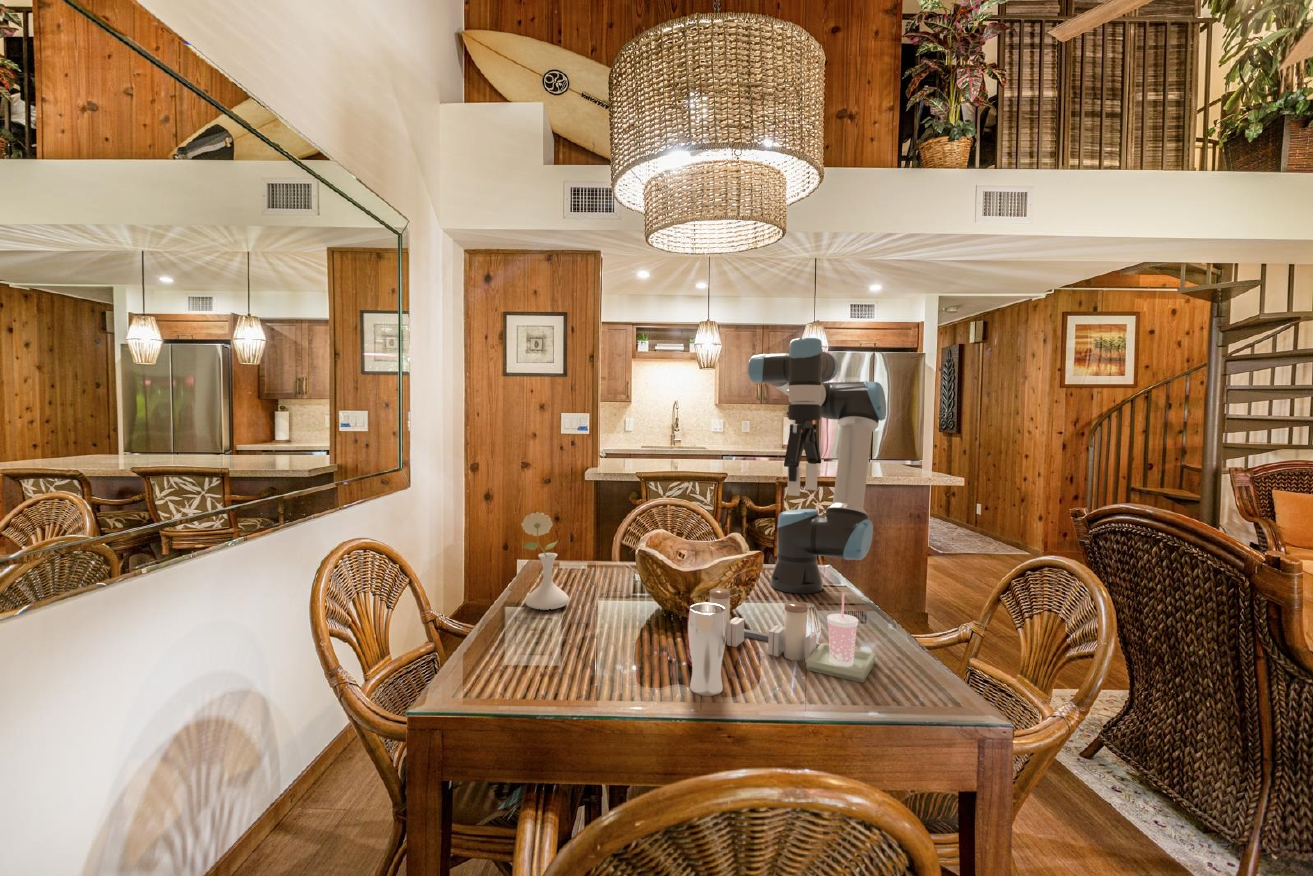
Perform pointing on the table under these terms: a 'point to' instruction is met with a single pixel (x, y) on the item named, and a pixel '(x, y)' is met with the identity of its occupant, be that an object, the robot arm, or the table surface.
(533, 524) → the flower in vase
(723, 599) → the cylinder
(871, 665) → the tray
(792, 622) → the cylinder
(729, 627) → the holder
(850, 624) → the beverage cup
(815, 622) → the table surface
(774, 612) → the table surface
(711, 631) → the beer glass
